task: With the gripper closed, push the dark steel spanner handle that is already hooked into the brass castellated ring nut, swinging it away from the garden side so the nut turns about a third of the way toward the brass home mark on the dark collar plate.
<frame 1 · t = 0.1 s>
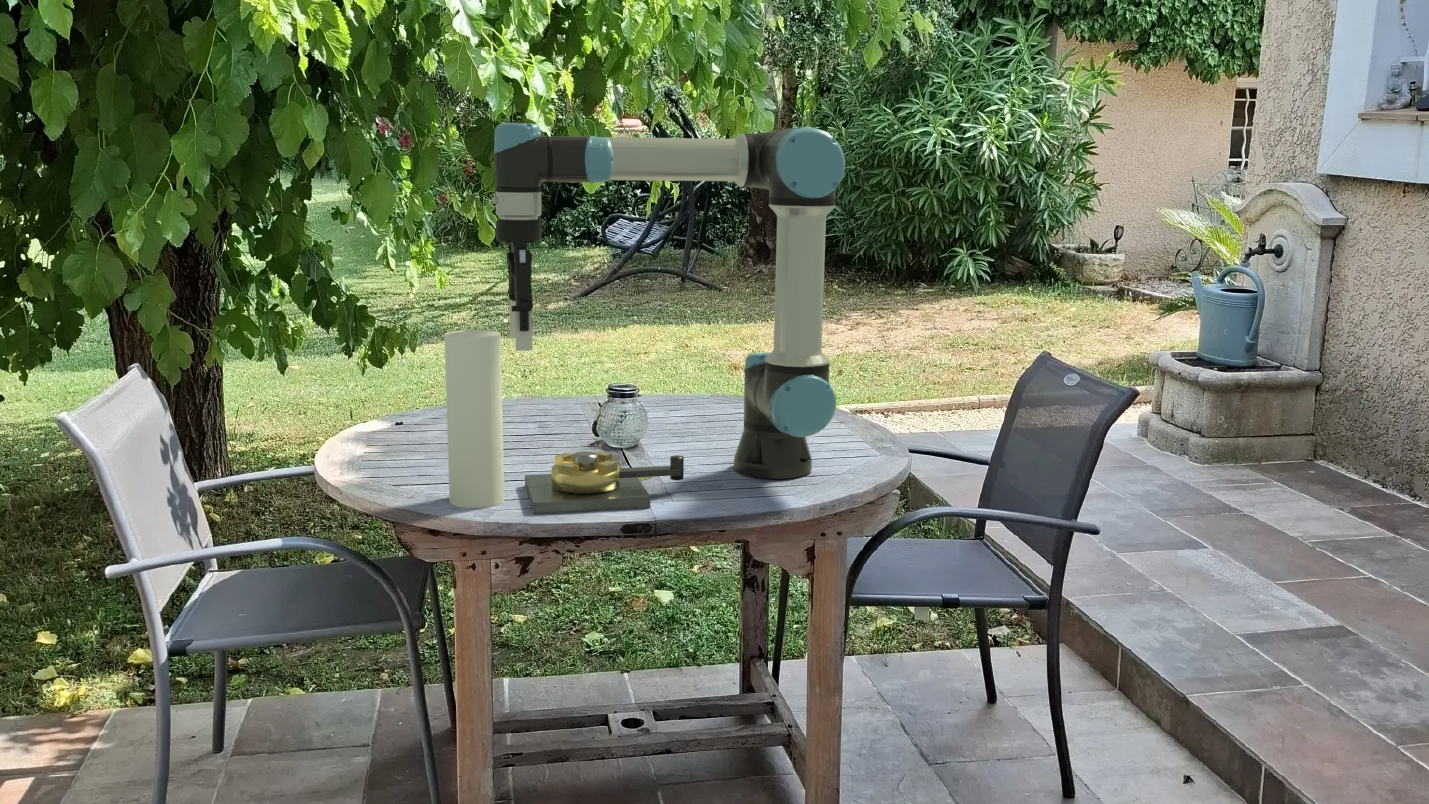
hand: (520, 344, 208), 28 cm above the table, tool pointing down, fingers open, 13 cm apart
collar plate: (585, 496, 218), on the table
cylinder container: (477, 501, 214), on the table
ring nut: (618, 467, 218), point 5 cm above the table, hinge at 0.0°
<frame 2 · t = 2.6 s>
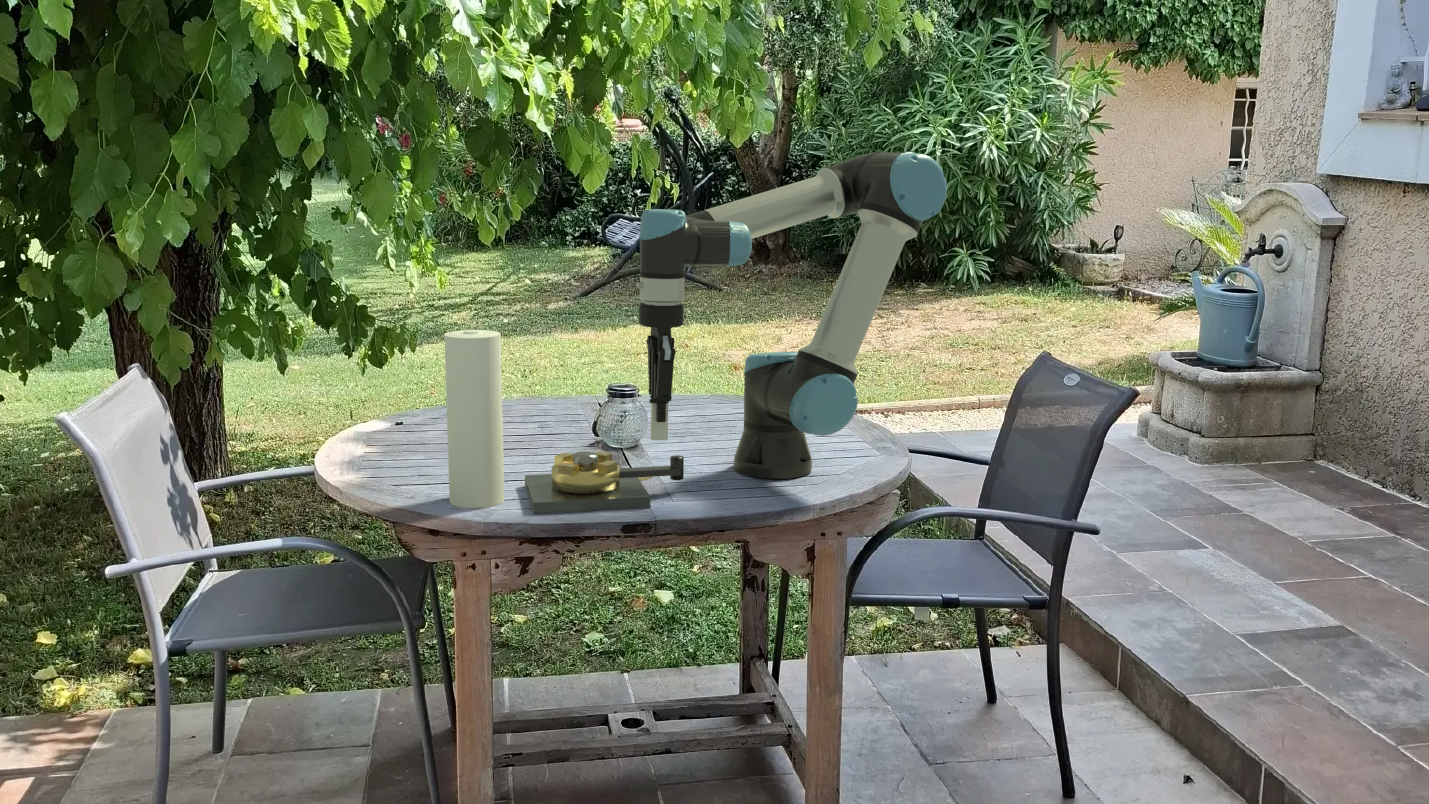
hand: (659, 438, 210), 12 cm above the table, tool pointing down, fingers closed
nothing on the table moved.
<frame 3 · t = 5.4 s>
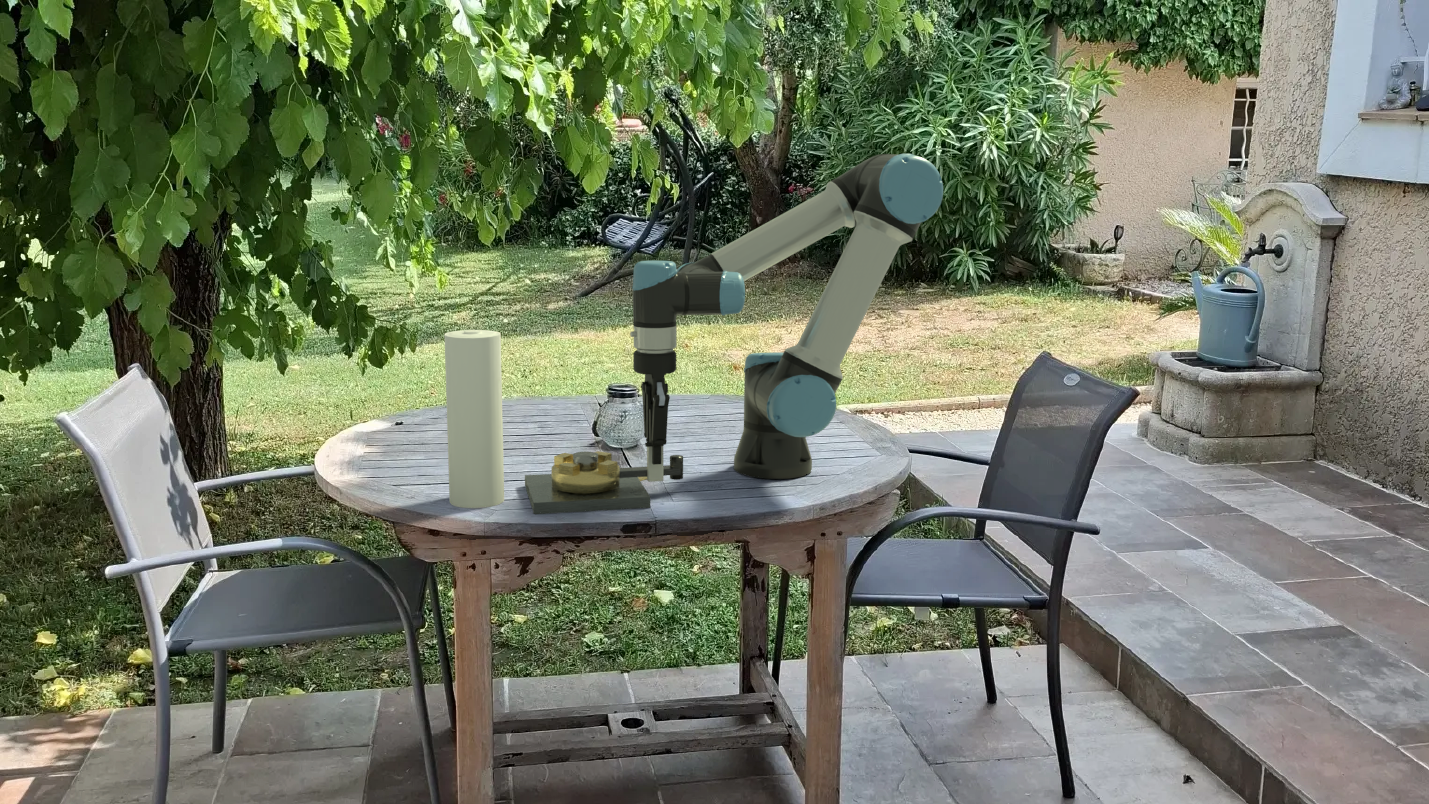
hand: (655, 480, 218), 3 cm above the table, tool pointing down, fingers closed
ring nut: (618, 467, 218), point 5 cm above the table, hinge at 1.4°, touching gripper
everything else where it was.
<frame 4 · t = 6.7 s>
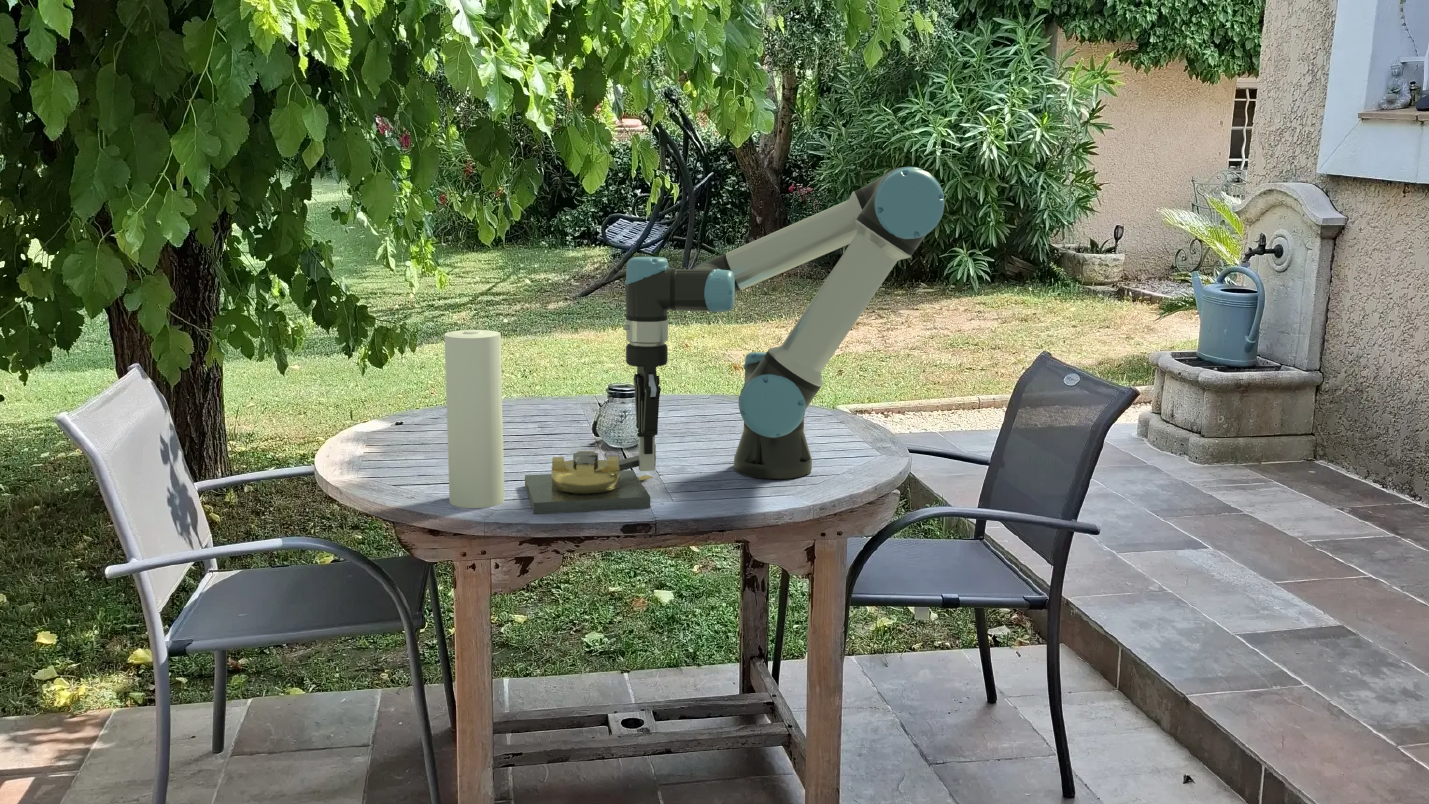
hand: (646, 469, 225), 3 cm above the table, tool pointing down, fingers closed
ring nut: (609, 463, 221), point 5 cm above the table, hinge at 36.8°, touching gripper
everything else where it was.
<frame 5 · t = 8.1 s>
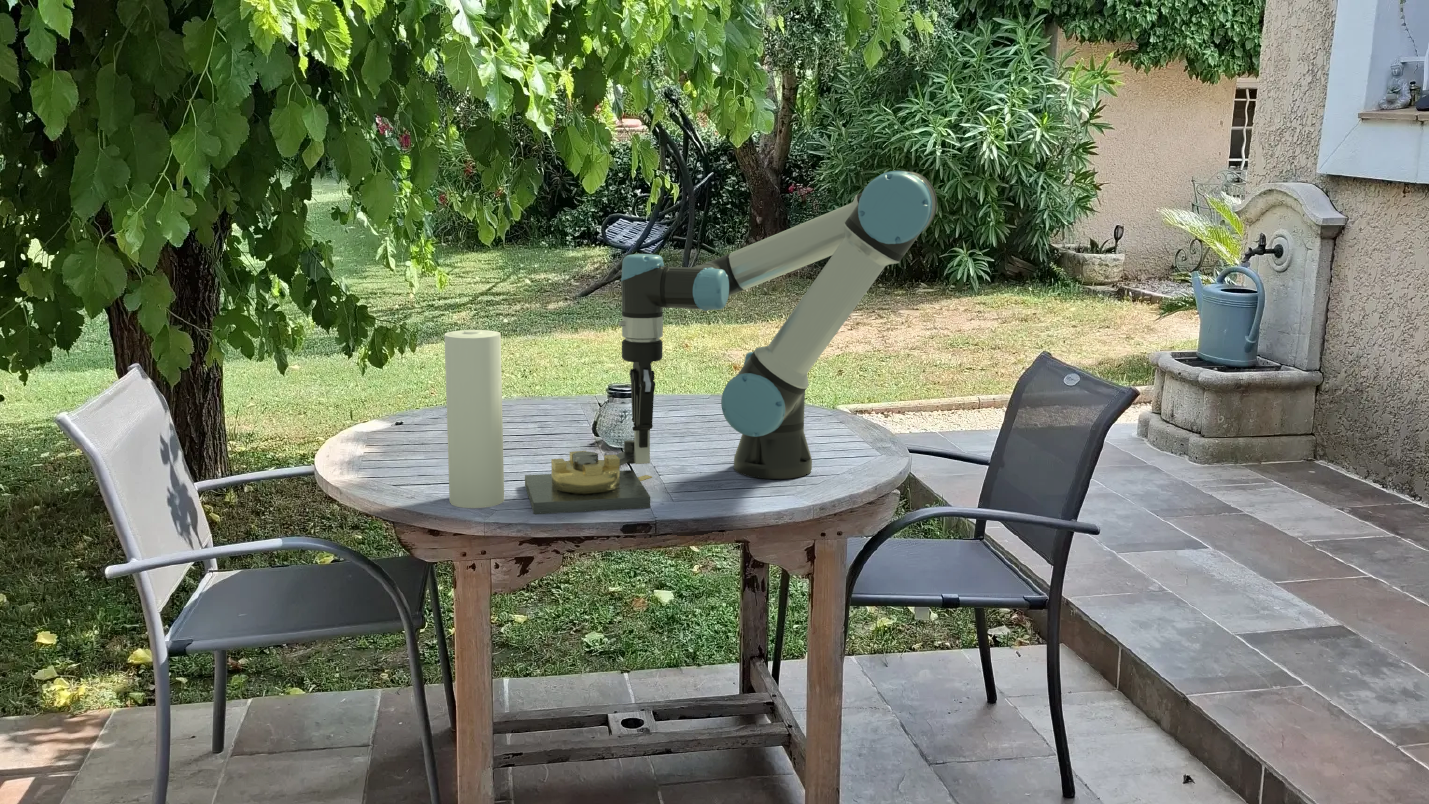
hand: (642, 462, 230), 3 cm above the table, tool pointing down, fingers closed
ring nut: (602, 461, 222), point 5 cm above the table, hinge at 51.7°, touching gripper
everything else where it was.
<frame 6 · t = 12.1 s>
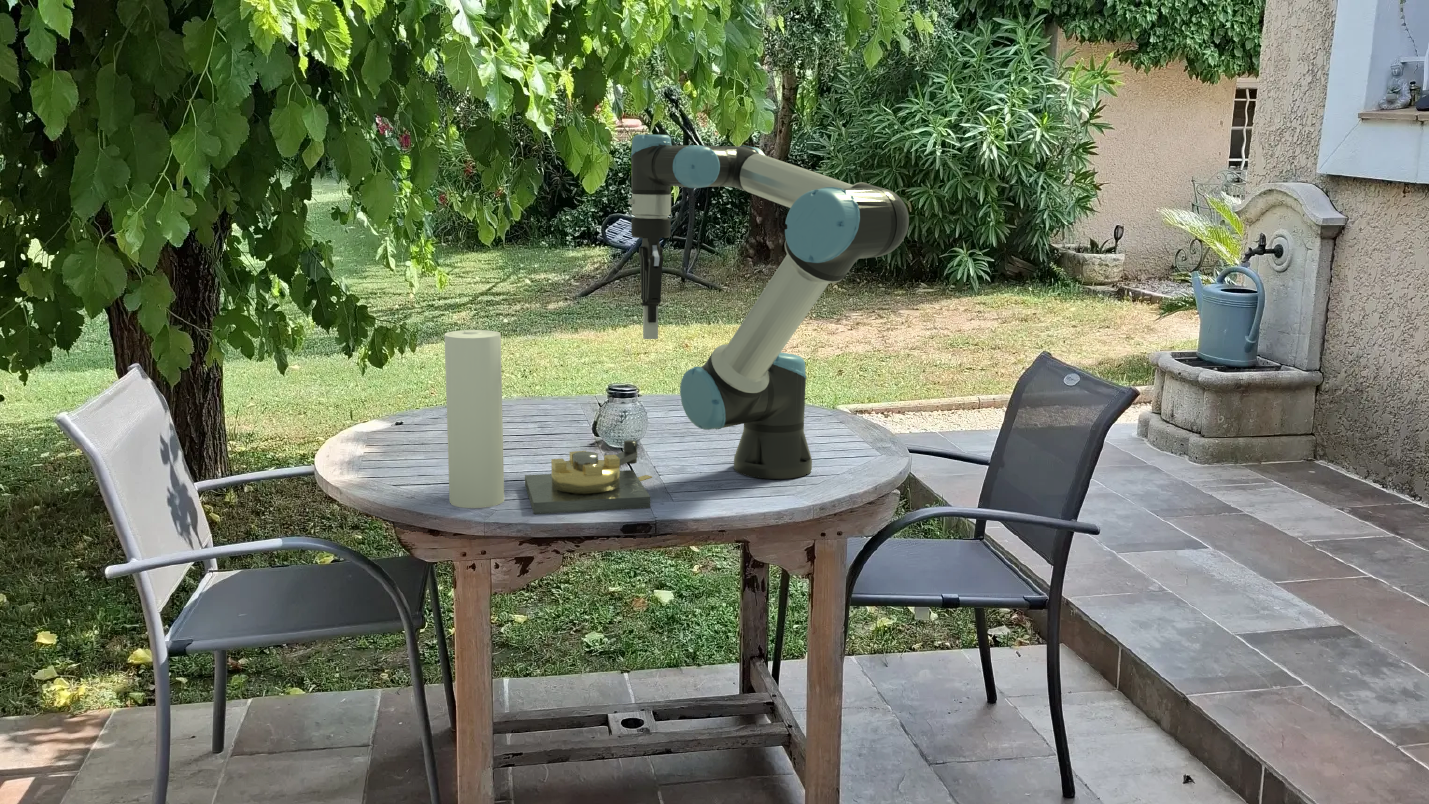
hand: (650, 338, 239), 24 cm above the table, tool pointing down, fingers closed
ring nut: (602, 461, 222), point 5 cm above the table, hinge at 51.9°
everything else where it was.
at the end: ring nut at +52° (first picture: +0°) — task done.
